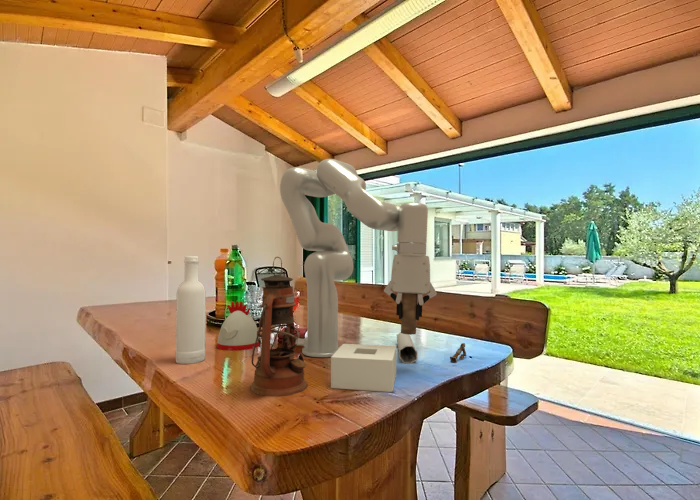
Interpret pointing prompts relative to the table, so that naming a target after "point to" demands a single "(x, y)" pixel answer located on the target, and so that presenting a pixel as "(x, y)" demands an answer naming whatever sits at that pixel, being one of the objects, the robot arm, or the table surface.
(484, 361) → the table surface
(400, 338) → the tube
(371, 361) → the bore block
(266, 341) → the lantern
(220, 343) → the white and red dome
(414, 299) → the pin
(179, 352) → the bottle
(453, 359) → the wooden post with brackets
